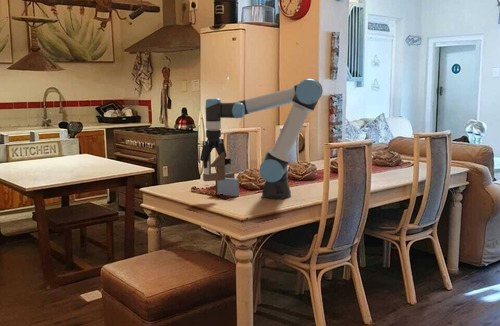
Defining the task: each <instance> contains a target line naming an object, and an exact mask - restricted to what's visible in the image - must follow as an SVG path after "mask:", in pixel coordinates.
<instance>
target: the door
mask: <svg viewBox="0 0 500 326" xmlns="http://www.w3.org/2000/svg"><path fill="white" fill-rule="evenodd" d="M239 180H240V179H239V178H235V179H233V178H225V180H218V181H217V193H218V194H217V195H220V194H223V195H222V196H230V197H240V181H239Z"/></svg>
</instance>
